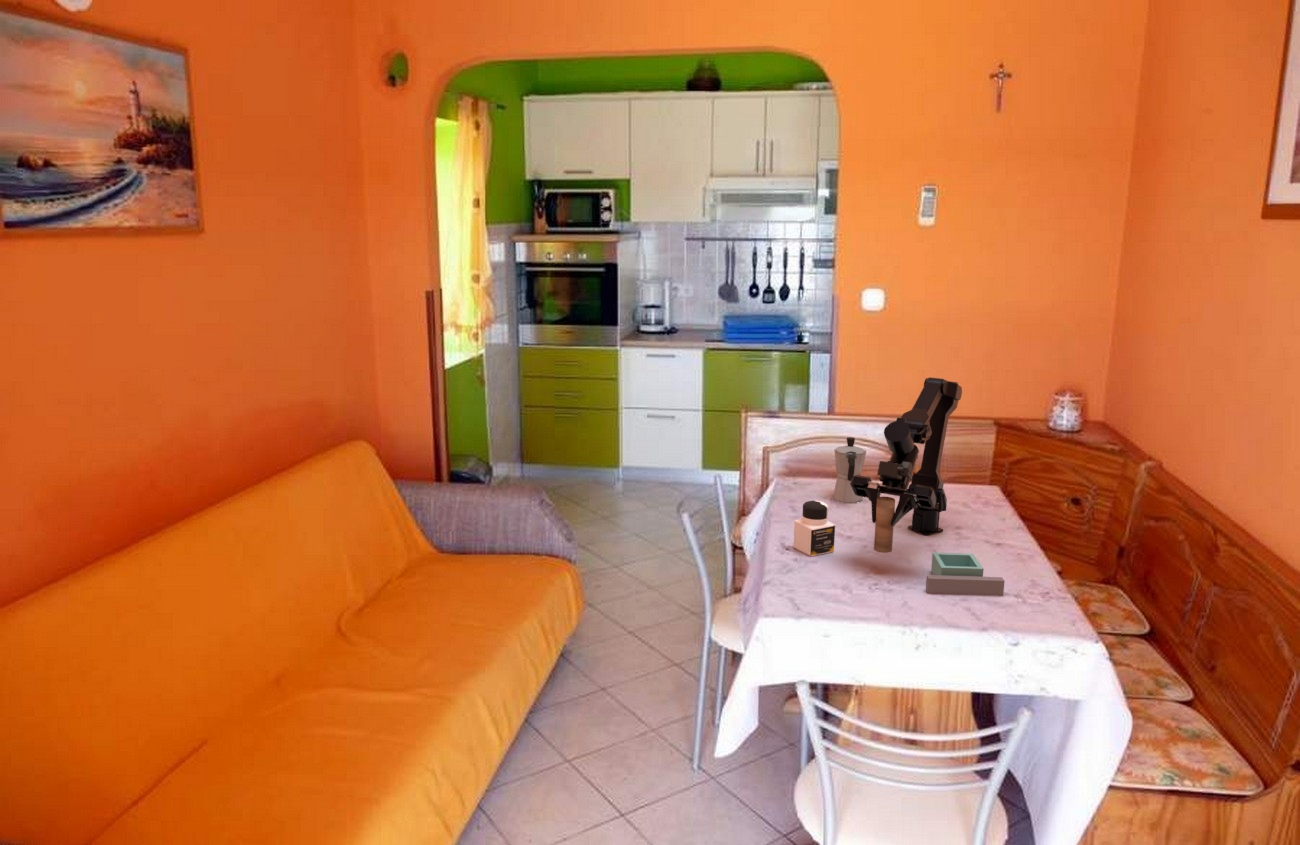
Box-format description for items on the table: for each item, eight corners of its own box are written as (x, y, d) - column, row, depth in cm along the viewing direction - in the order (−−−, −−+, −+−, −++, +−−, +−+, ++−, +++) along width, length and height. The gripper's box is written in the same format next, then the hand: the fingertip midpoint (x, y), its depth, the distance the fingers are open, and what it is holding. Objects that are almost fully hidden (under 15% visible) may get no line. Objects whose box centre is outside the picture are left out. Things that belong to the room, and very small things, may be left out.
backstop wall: (925, 589, 206) (926, 574, 205) (1000, 592, 205) (1001, 577, 204) (927, 593, 204) (928, 578, 203) (1003, 596, 203) (1004, 580, 202)
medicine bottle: (810, 557, 224) (812, 509, 222) (792, 547, 231) (794, 500, 228) (834, 552, 228) (836, 504, 225) (816, 542, 234) (818, 496, 231)
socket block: (931, 571, 216) (932, 552, 215) (971, 572, 215) (972, 553, 214) (940, 586, 207) (941, 567, 206) (981, 588, 206) (983, 568, 205)
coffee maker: (830, 491, 275) (833, 431, 271) (861, 492, 274) (865, 432, 269) (833, 507, 260) (836, 444, 256) (865, 509, 259) (869, 446, 255)
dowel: (883, 545, 217) (886, 495, 214) (895, 550, 213) (899, 500, 210) (870, 548, 215) (873, 498, 212) (882, 554, 211) (885, 503, 208)
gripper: (855, 441, 217) (834, 499, 210) (936, 452, 207) (917, 514, 200) (865, 465, 225) (846, 522, 218) (943, 478, 215) (926, 538, 209)
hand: (882, 523), depth 211 cm, fingers closed on dowel, 4 cm apart
